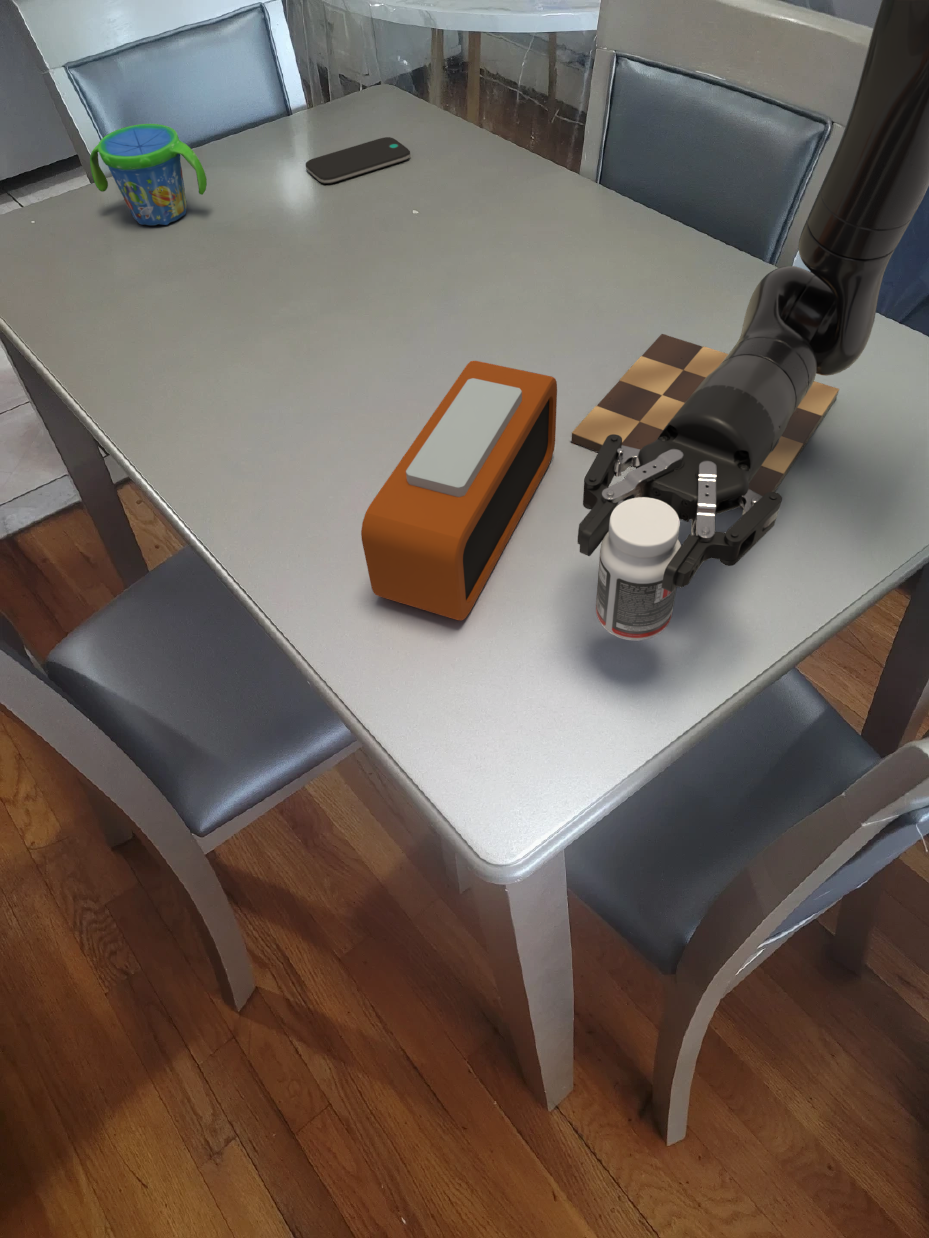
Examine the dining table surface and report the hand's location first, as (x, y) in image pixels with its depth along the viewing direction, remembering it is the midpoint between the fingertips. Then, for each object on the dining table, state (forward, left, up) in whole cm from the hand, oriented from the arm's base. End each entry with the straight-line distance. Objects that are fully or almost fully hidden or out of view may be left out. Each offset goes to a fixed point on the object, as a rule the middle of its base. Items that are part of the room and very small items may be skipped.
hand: (625, 563), depth 59 cm
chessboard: (+7, -33, -14) cm, 37 cm away
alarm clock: (+19, -8, -14) cm, 25 cm away
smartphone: (+76, -62, -14) cm, 99 cm away
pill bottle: (0, -2, -8) cm, 9 cm away
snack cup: (+91, -36, -14) cm, 99 cm away
